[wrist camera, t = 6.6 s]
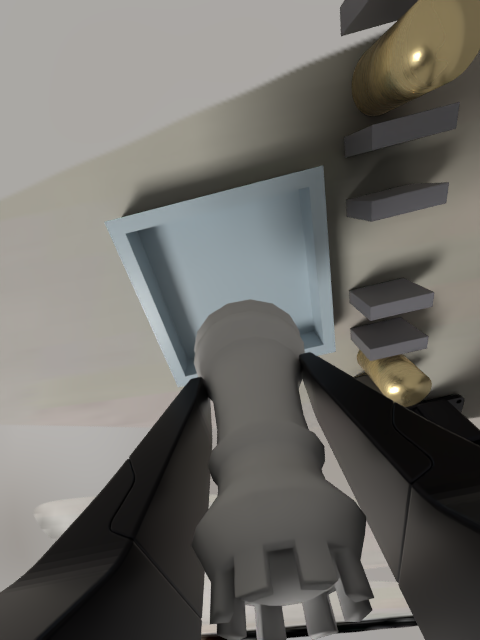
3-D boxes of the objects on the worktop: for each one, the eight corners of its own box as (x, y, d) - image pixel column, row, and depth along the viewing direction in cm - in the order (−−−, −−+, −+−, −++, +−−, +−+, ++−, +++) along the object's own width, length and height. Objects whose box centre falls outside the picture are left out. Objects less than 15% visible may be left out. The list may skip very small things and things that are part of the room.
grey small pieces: (396, 377, 23) (419, 401, 20) (352, 386, 23) (369, 412, 20) (424, -17, 12) (483, -77, 9) (340, 7, 12) (373, -45, 9)
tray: (323, 333, 20) (335, 351, 18) (182, 366, 21) (178, 387, 19) (308, 169, 15) (323, 165, 13) (120, 217, 16) (104, 221, 13)
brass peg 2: (391, 364, 22) (429, 402, 18) (357, 371, 22) (387, 411, 18) (393, 335, 21) (434, 369, 17) (356, 343, 21) (389, 379, 17)
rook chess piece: (317, 317, 11) (508, 566, 4) (269, 393, 12) (334, 665, 5) (217, 277, 10) (206, 515, 3) (181, 367, 11) (112, 659, 4)
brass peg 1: (406, 108, 14) (480, 74, 10) (352, 122, 14) (404, 95, 10) (410, 33, 13) (497, -40, 9) (351, 50, 13) (410, -15, 9)
